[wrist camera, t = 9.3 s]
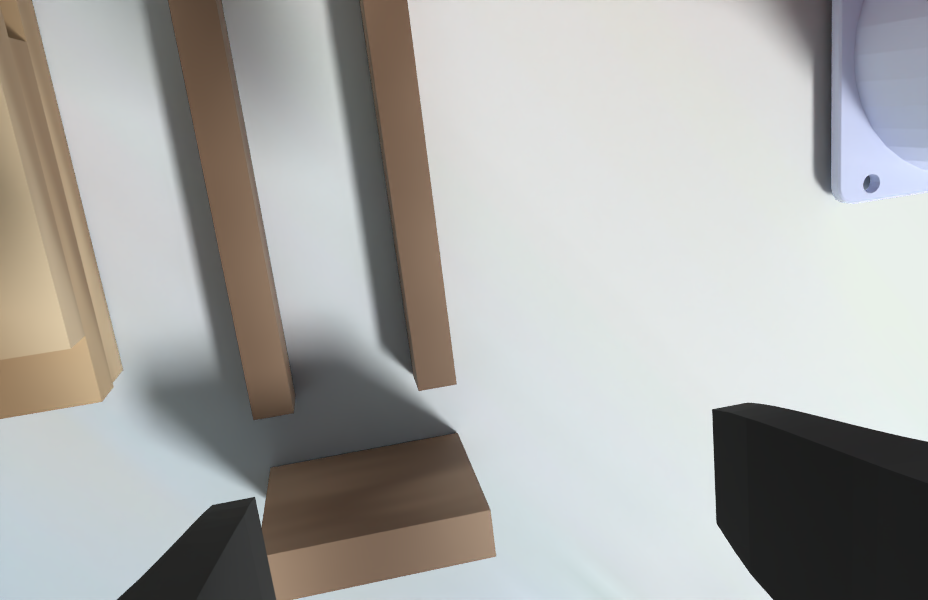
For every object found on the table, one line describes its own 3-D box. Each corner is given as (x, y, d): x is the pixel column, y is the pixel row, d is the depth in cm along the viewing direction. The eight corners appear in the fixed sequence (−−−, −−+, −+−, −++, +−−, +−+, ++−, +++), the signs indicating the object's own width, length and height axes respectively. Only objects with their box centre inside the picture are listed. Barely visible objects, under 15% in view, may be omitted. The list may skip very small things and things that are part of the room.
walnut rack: (367, -259, 17) (381, -382, 13) (462, 471, 22) (496, 556, 17) (126, -247, 16) (58, -373, 12) (278, 506, 21) (267, 604, 17)
